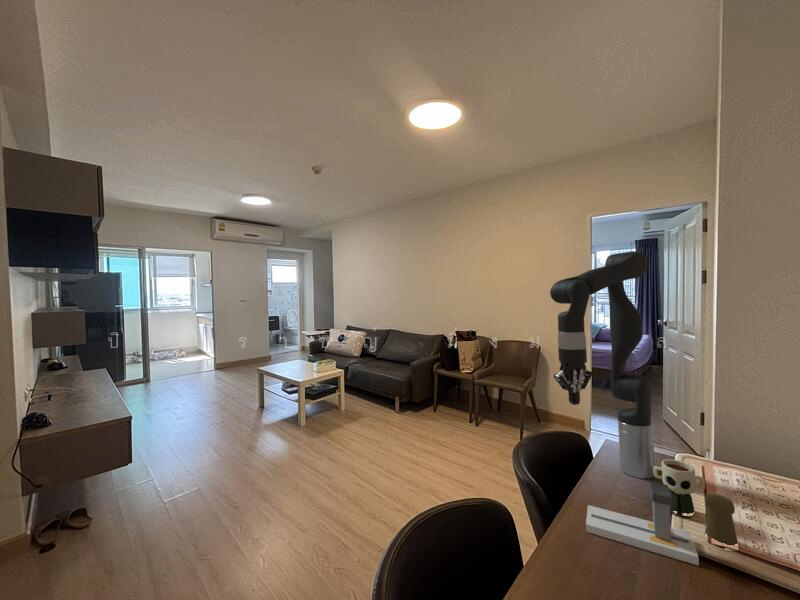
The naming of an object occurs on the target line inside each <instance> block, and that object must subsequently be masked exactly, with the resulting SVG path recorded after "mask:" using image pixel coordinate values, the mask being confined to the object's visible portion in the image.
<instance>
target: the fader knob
mask: <svg viewBox="0 0 800 600" xmlns="http://www.w3.org/2000/svg"><path fill="white" fill-rule="evenodd" d="M649 491H650V496H651V499H652V501H651V502H652V503H651V504H652V520H653V521H652V522H653V526H654V532H655V537H658V538H662V539H665V540H669V541H671V527H672V526H671V511H670V506H672V498H671V494H670V491H669V488H668V485H666V484H664V483H660V482H656V481H651V480H650V481H649Z"/></svg>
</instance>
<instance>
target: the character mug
mask: <svg viewBox="0 0 800 600" xmlns="http://www.w3.org/2000/svg"><path fill="white" fill-rule="evenodd" d="M653 471H654V473H653V477H654V478H656V479H660V480H661V481H662V484H666V485H668V488H669V491H670V494H671V498H672V506H670V513H673V511H677V512H678V511H679V512H678V513H681V512H682V513H687V514H689V513H693V512H694V511H695V506H694V502H693V497H692V495H691V494H693V493H695V491H696V489H699V490H705V489H706V483H705V478H704V477H702V476H699V475H696V470H695V468H694V466H692V465H691V464H689V463H687V462H685V461H682V460H677V459H672V458H671V459H669V458H667V459H663V460H662V461H661V467H660V466H656V465H655V466H654V467H653ZM659 471H661V475H660V474H659ZM696 480H697V481H699V484H698V483H696ZM682 513H681V514H682Z"/></svg>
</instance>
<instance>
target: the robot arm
mask: <svg viewBox="0 0 800 600" xmlns="http://www.w3.org/2000/svg"><path fill="white" fill-rule="evenodd" d="M648 266H649V265H648V258H647V257H646V255H644V253H642V252H641V251H635V250H634V251H627V252H620V253H613V254H610V255H607V258H606V259H605V265H604V266H601V267H597V268H593V269H590V270H588V271H585V272H583V273H581V274H579V275H576V276H572V277H567V278H564V279H561V280H558V281H556V282H555V283H553V285H552V286H551V288H550V291H549V292H550V293H549V294H550V297H551V299H552V300H553V301H554V302H555V303H558V304H563V305H565V304H569V305H570V306H569V308H568V310H566V311H563V312H559V314H558V316H557V331H558V335H557V349H558V350H557V351H558V362H560V363H559V364H560V367H559V372H558V373H557V374H556V373H554V374H553V378H554V380H555V381H556V382H557V383H558V385H559V386H560V387H561V389H562V390H565V391H568V402H569V403H570V404H571V405H573V406H575V405H576V406H577V405H580V403H581V392H582V390H585V389H586V388H587V386H588V384H589V382H590V380H591V378H592V376H593V371H592V370H591V371H590V370H588V368H587V366H586V364H587V362H588V355H587V352H588V351H587V337H586V333H585V331H586V330H585V315H586V312H587V306H588V303H589V299H590V296H591V295H594V294H596V293H598V292H599V291H602V290H604V289H606V288H607V293H608V301H609V303H608V304H609V331H610V332H609V333H610V344H611V345H610V347H611V365H610V366H611V369H610V370H611V371H610V391H611V395H612V396H613V397H614V398H615V399H616V400H620V401H624V402H629V403H635V404H636V405H635V406H634V407H631V408H623V409H619V410H618V412H617V425H618V446H619V447H618V448H619V449H618V451H619V469H620V470H621V472H623V473H624V474H626V475H629V476H630V477H634V478H637V479H651V478H653V477H654V471H653V467H654V466H656V463H655V447H654V446H655V445H654V444H653V439H652V435H653V434H652V419H651V418H652V384H651V380H650V379H649V378H648V377H647V376H643V375H639V374H637V375H636V374H629V373H626V364H627V361H628V359H629V358H630V356H631V355H632V353H633V352H634V351H635V350H636V349H637V347H638V346H639V344H640V343H641V341H642V339H643V335H644V334H643V333H644V332H643V330H644V329H643V319H642V315H641V313H640V312H639V310H638V309H637V307H636V306H635V305H634V304H633V302H632V301H631V299H629V296H628V295H627V293H626V290H625V286H624V282H625V281H627V280H635V279H639V278H641V277H643V276H644V275H645V274H646V272H647V270H648Z"/></svg>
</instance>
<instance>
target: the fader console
mask: <svg viewBox="0 0 800 600" xmlns="http://www.w3.org/2000/svg"><path fill="white" fill-rule="evenodd" d="M586 509H587V510H586V521H585V530H586V532H587V533H589V534H593V535H595V536H599V537H602V538H604V539H605V538H606V539H610V540H613V541H615V542H619V543H622V544H626V545H629V546H632V547H635V548H638V549H642V550H644V551H648V552H651V553H654V554H659V555H662V556H666V557H668V558H672V559H675V560H678V561H682V562H685V563H689V564H692V565H695V566H698V567H699V565H700V564H699V563H700V559H699V555H698V551H697V548H696V546H695V545H696V544H695V542H694V539H693V536H692V533H691V531H689V530H685V529H680V528H677V527H673V526H671V541H669V540H665V539H662V538H658V537H655V532H654V526H653V521H650V520H648V519H647V520H646V519H643V518H640V517H635V516H631V515H627V514H625V513H624V514H623V513H619V512H616V511H612V510H608V509H606V508H605V509H604V508H602V507H597V506H593V505H589V504H588V505H587V508H586Z"/></svg>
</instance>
